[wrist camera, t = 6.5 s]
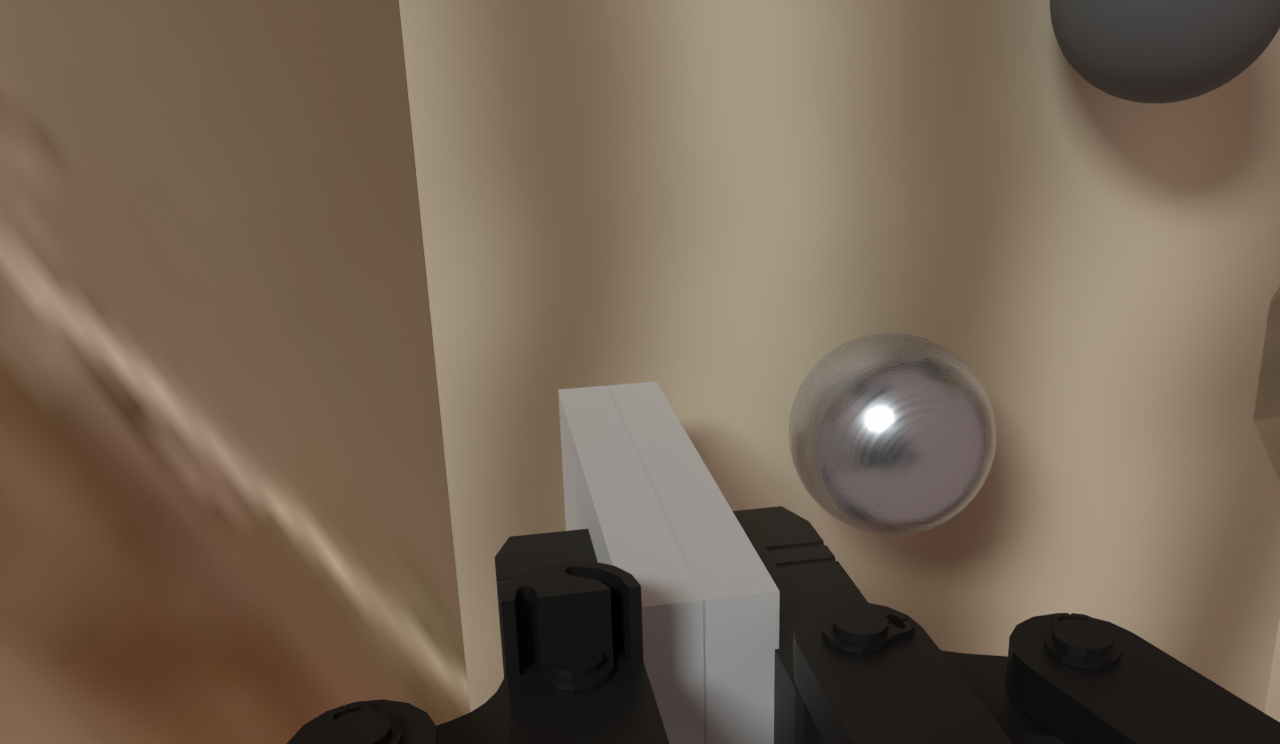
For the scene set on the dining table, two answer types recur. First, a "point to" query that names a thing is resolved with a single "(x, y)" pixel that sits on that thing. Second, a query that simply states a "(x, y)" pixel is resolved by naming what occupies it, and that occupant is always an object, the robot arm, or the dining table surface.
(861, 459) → the steel ball
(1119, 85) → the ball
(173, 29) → the dining table surface
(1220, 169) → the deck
